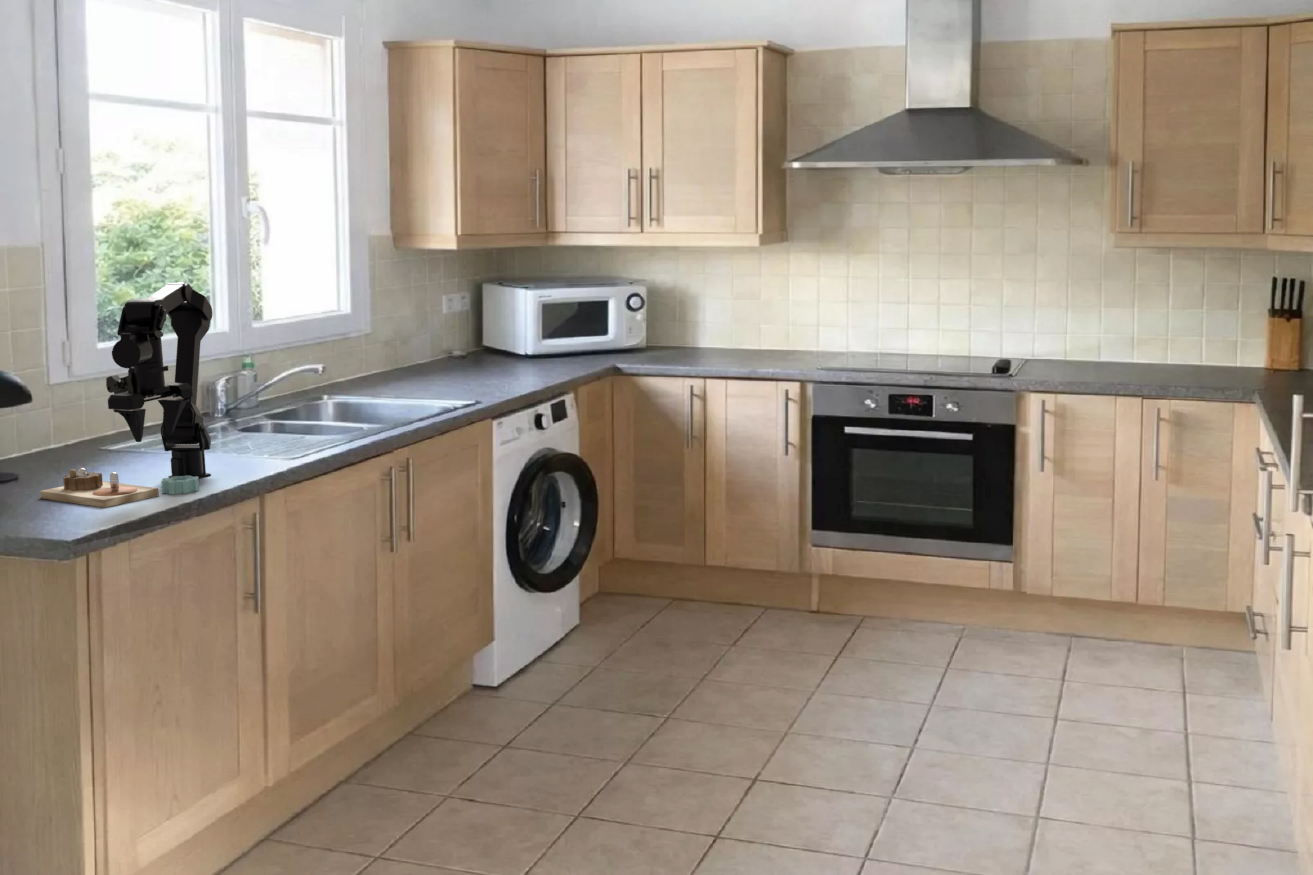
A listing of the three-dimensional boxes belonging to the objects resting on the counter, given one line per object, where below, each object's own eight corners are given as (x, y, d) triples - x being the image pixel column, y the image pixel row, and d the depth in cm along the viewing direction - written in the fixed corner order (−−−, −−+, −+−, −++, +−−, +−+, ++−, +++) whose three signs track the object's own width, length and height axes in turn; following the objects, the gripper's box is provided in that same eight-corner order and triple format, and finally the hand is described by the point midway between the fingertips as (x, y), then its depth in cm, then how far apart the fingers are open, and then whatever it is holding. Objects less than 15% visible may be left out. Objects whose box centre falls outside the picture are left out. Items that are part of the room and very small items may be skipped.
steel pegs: (84, 486, 294) (82, 467, 293) (121, 491, 288) (119, 471, 287) (77, 487, 293) (76, 468, 292) (114, 492, 286) (112, 473, 286)
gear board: (95, 486, 301) (95, 478, 301) (158, 495, 291) (158, 487, 290) (40, 498, 290) (40, 489, 290) (104, 507, 280) (103, 498, 279)
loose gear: (183, 486, 300) (182, 474, 300) (206, 489, 296) (205, 477, 296) (155, 492, 294) (154, 480, 294) (178, 495, 290) (177, 483, 290)
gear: (87, 482, 298) (85, 463, 297) (109, 485, 294) (108, 466, 293) (57, 488, 292) (55, 469, 291) (79, 492, 288) (77, 472, 287)
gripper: (148, 355, 300) (154, 428, 303) (82, 366, 283) (90, 444, 286) (191, 356, 296) (197, 430, 299) (127, 368, 279) (134, 447, 282)
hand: (154, 437), depth 292 cm, fingers open, 9 cm apart
